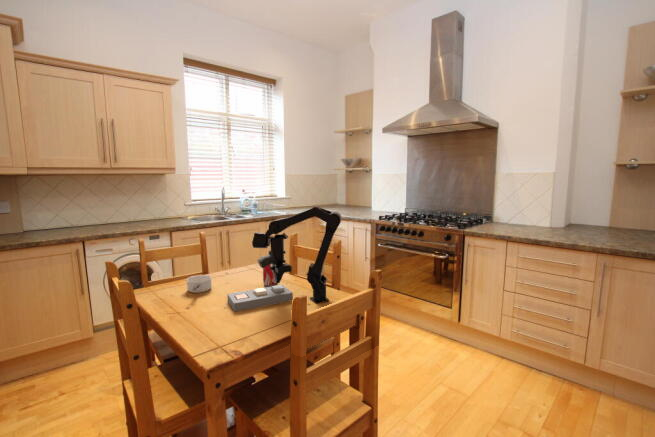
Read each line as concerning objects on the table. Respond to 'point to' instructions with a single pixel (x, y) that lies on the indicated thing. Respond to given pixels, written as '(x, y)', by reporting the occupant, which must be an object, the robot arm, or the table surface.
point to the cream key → (260, 291)
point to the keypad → (258, 299)
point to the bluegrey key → (277, 288)
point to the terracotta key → (241, 296)
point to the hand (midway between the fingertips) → (277, 283)
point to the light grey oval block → (199, 283)
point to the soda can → (268, 276)
